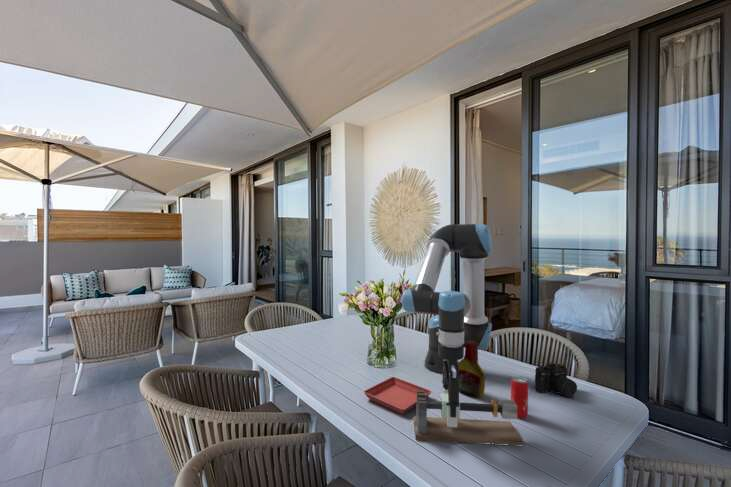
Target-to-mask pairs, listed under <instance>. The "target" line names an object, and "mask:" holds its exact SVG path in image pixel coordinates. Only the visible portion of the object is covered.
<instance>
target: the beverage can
mask: <svg viewBox="0 0 731 487" xmlns="http://www.w3.org/2000/svg"><path fill="white" fill-rule="evenodd" d="M510 400H514V402H515V403H516V405H517V419H518V418H525V419H526V418H527V416H528V410H529V409H528V408H529V404H528V403H529V382H528V379H526V378H524V377H520V376H513V377H512V378H511V381H510Z"/></svg>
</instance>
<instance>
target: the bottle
mask: <svg viewBox="0 0 731 487" xmlns="http://www.w3.org/2000/svg"><path fill="white" fill-rule="evenodd" d="M478 352H479V350H478V343H476V342H475V341H468V342H467V343H466V346H465V348H464V357H463V358H462V359H460V360H459V361H458V363H457V364H458V371H459V393H463V394H465V395H467V396H469V397H472V398H482V397H483V396H484V393H485V387H486V386H485V385H486V375H485V372H484V369H483V368H482V366H481V365H480V364H479V358H478V356H479V353H478Z"/></svg>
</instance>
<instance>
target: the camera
mask: <svg viewBox="0 0 731 487" xmlns="http://www.w3.org/2000/svg"><path fill="white" fill-rule="evenodd" d="M534 372H535V376H534V391H535V390H536V391H535V392H537V393H539V394H542V393H547V392H551V391H552V393H555V392H559V394H561V395H563V396H565V397H567V398H571V397H572V398H573V396H575V395H576V393H577V390H578V385H577V383H576V382H575V381H574V380H573V379H571V378H568V367H566V365H565V364H564V363H562V362H560V363H557V365H556V363H554V362H547V363H546V365H543V364H541V366H537V367H535V371H534Z"/></svg>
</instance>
